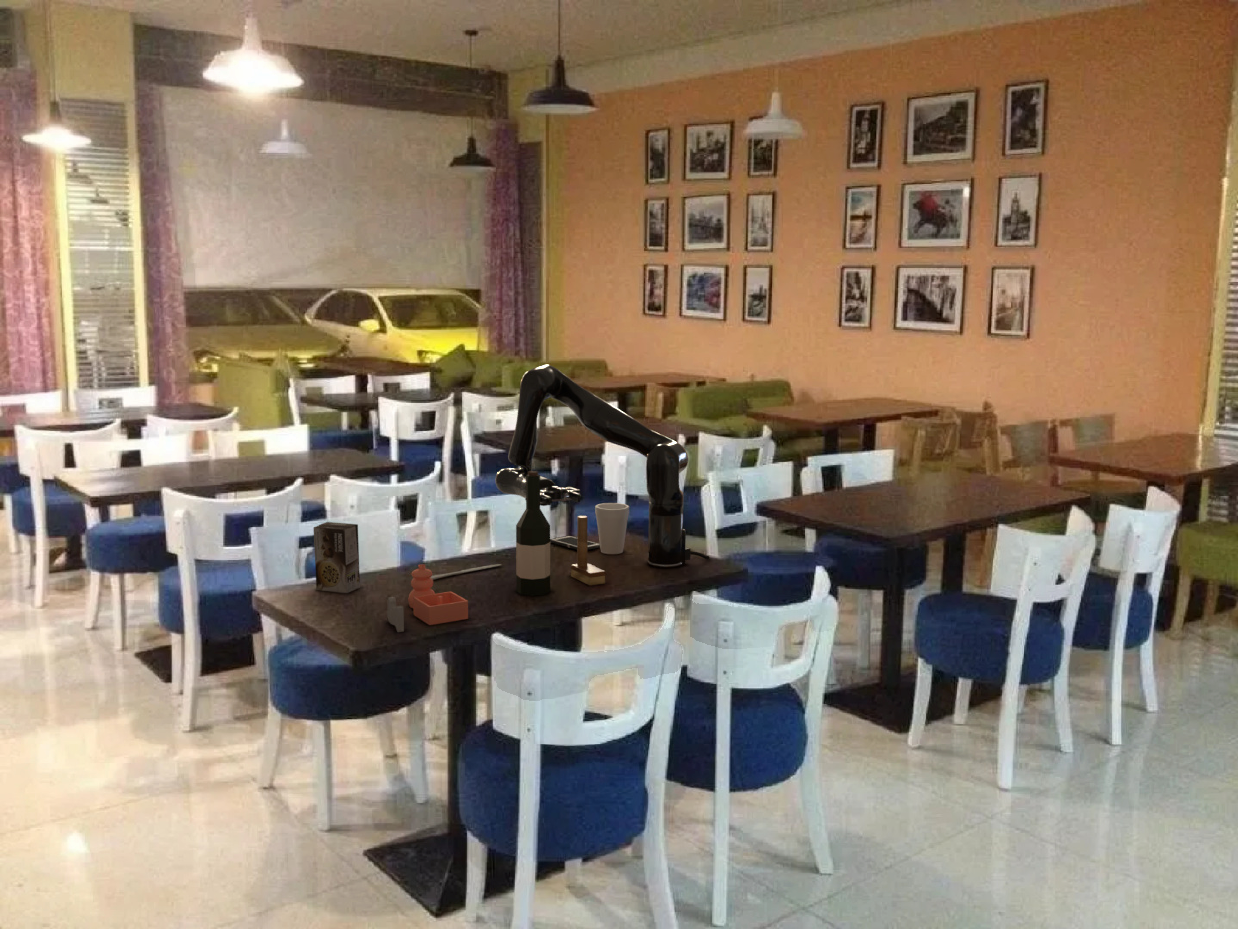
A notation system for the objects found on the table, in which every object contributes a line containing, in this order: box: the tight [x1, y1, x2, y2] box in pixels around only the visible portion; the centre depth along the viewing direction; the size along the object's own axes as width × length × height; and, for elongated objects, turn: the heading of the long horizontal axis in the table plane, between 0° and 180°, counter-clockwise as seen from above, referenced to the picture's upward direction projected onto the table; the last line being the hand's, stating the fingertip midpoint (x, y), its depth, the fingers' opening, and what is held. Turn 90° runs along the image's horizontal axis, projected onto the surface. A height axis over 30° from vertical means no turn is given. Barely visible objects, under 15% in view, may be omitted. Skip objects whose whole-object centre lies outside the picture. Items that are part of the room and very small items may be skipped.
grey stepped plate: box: [386, 596, 405, 633], centre depth 258 cm, size 6×1×10 cm
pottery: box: [407, 563, 469, 626], centre depth 268 cm, size 18×10×10 cm, turn 33°
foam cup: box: [594, 502, 630, 555], centre depth 326 cm, size 10×9×13 cm
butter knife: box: [430, 564, 502, 581], centre depth 303 cm, size 1×24×3 cm
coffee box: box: [312, 521, 361, 594], centre depth 285 cm, size 9×6×16 cm
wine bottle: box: [515, 470, 551, 597], centre depth 284 cm, size 8×8×30 cm
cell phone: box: [550, 535, 600, 551], centre depth 334 cm, size 8×15×1 cm, turn 43°
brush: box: [570, 515, 606, 586], centre depth 296 cm, size 10×4×16 cm, turn 31°
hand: (564, 499), depth 306 cm, fingers open, 8 cm apart
